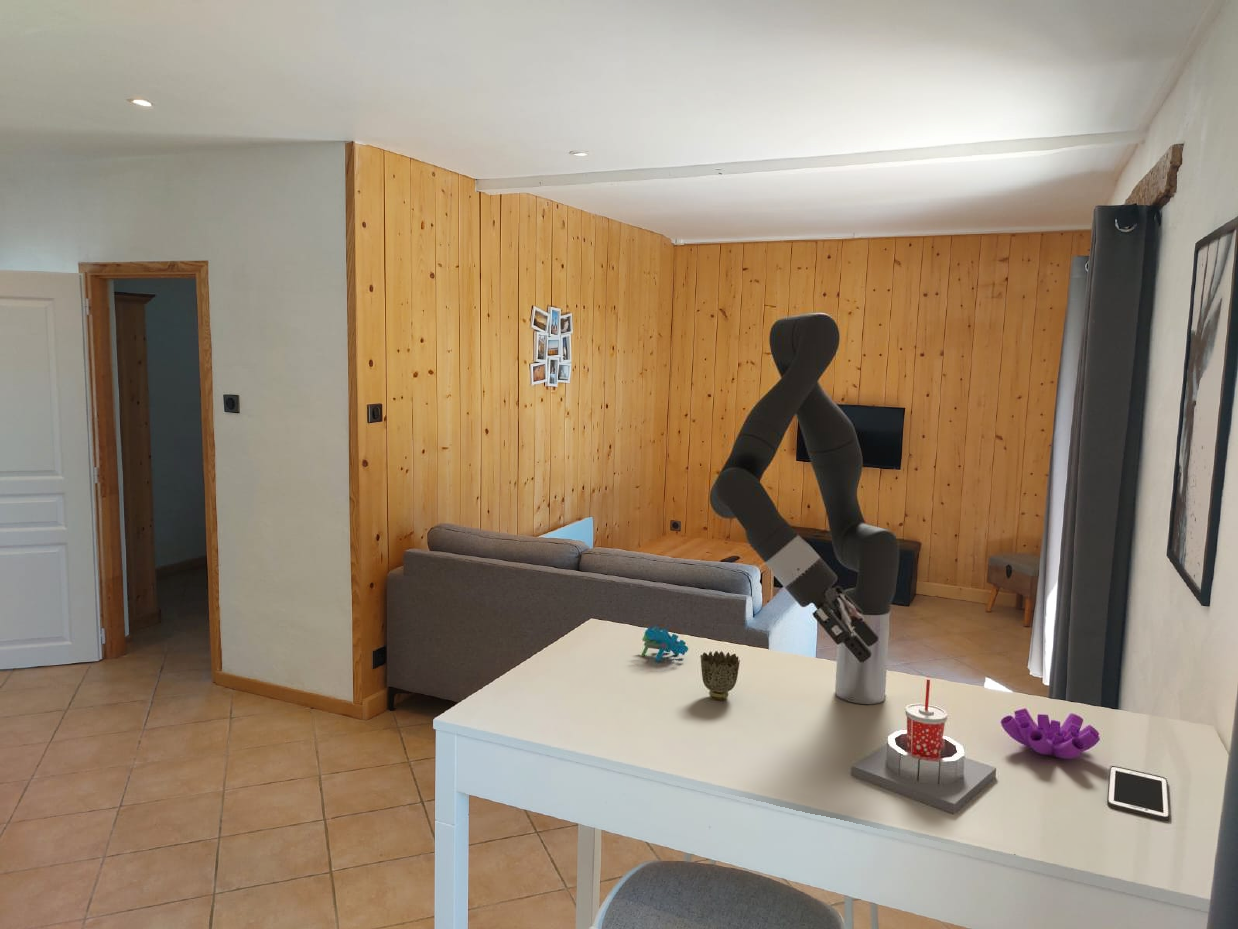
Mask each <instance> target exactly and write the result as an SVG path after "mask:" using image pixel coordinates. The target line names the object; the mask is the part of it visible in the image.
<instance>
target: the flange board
mask: <svg viewBox="0 0 1238 929" xmlns="http://www.w3.org/2000/svg"><path fill="white" fill-rule="evenodd" d="M886 755H887V742H885V744H883V745H882V746H880V747H878V748H877V749H875V750H874V751H872V752H870V753H869V754H868V755H865V756H864V757H863V758H862V759H860V760H858V761H857V762H855V763H854V764H852V765H851V766H850V767H851V768H850V769H851V770H850V776H852V777H855V778H858V779H860V780H863V781H864V782H865V781H866V782H868V783H871V784H873V785H876V786H879V787H882V788H884V789H886V790H889V791H892V792H894V793H897V794H900V795H903V796H905V797H907V798H911V799H913V800H916V801H918V802H921V803H924V804H926V805H929V806H932V807H934V808H937V809H939V810H942V811H944V812H947V813H949V814H952V815H955V814H956V813H957V812H958V811H959V810H960V809H961V808H962V807H963V806H965V805H966V804H967V803H968V802H969V801H970V800H971V799H972V798H973V797H975V796H976V795H977V794H978V793H979V792H980V791H982V790H983V789H984V788H985V787H986V786H987V785H989V783H991V782H992V781H993V780H994V779H995V778H996V777H997V776H996V775H997V767H996V766H993V765H989V764H985V763H982V762H980V761H977V760H974V759H971V758H968V757H965V759H964V773H963V777H962V778H960V779H959V780H958V781H957V782H955V783H948V784H940V785H939V784H938V785H937V784H929V783H922V782H918V781H917V782H916V781H914V780H911V779H908V778H905V777H903V776H900V775H898V774H897V773H895V772H894V771H893V770H892V769H890V768H889V767H888V766H887V760H886Z"/></svg>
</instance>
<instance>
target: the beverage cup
mask: <svg viewBox="0 0 1238 929" xmlns="http://www.w3.org/2000/svg"><path fill="white" fill-rule="evenodd" d="M930 686H931V679H930V678H926V686H925V687H926V688H925V697H924V698H925V700H924V701H925V702H924V703H919V702H918V703H911V704H908V705H906V706H905V708H904V710H905V711H904V714H905V716H906V730H907V752H908V753H911V754H914V755H916V756H919V757H926V758H934V759H940V755H941V747H942V740H943V736H944V733H945V732H944V731H945V725H946V722H947V720H948V713H947V711H946V710H945V709H943V708H941V707H939V706H936V705H933V704H930V702H929V701H930V700H929V699H930Z"/></svg>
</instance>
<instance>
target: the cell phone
mask: <svg viewBox="0 0 1238 929" xmlns="http://www.w3.org/2000/svg"><path fill="white" fill-rule="evenodd" d="M1108 775H1109V776H1108V786H1107V797H1106V798H1107V799H1106V805H1107V807H1109V808H1110V809H1113V810H1116V811H1121V812H1123V813H1128V814H1132V815H1136V816H1140V817H1145V818H1149V819H1153V820H1157V821H1161V822H1169V821H1170V817H1171V816H1170V797H1169V786H1168V782H1169V781H1168V780H1167V778H1166V777H1164V776H1161V775H1157V774H1156V775H1155V774H1153V773H1148V772H1143V771H1139V770H1134V769H1130V768H1125V767H1122V766H1117V765H1111V766H1109V774H1108Z"/></svg>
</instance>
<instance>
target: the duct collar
mask: <svg viewBox="0 0 1238 929" xmlns="http://www.w3.org/2000/svg"><path fill="white" fill-rule="evenodd" d="M886 739H887V741H886V743H887V755H886V760H887V766H888V767H889V768H890V769H892V770H893V771H894V772H895V773H897V774H898V775H900V776H903V777H905V778H908V779H911V780H914V781H916V782H917V781H918V782H922V783H929V784H937V785H938V784H939V785H940V784H948V783H955V782H957V781H958V780H959V779H960V778H962V777H963V773H964V759H965V758H966V756H965V755H966V752H965V750H964V748H963V745H962V744H961V743H959V742H957V741H955V740H954V739H952V738H951V737H949V736H946V735H943V740H942V747H941V755H940V759H934V758H926V757H919V756H916V755H914V754H911V753H908V752H907V729H905V730H897V731H894V732H893V733H891V734H889V735H887V738H886Z"/></svg>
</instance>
